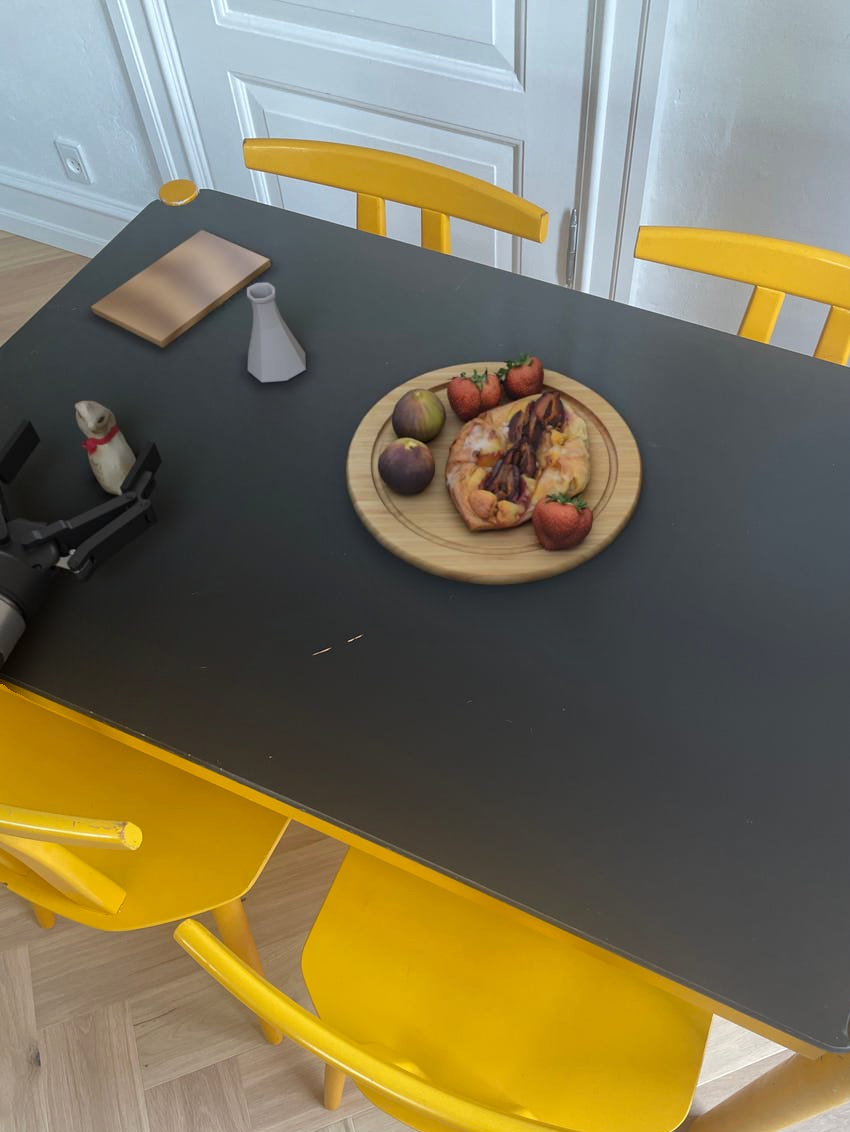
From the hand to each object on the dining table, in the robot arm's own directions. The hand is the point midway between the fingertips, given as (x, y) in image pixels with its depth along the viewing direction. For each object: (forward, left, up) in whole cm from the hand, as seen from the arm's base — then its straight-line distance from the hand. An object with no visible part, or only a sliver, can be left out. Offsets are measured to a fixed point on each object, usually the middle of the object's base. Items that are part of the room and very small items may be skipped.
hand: (93, 440), depth 91 cm
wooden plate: (+41, -1, -6) cm, 42 cm away
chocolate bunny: (0, +1, -6) cm, 6 cm away
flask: (+16, +18, -6) cm, 25 cm away
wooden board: (+3, +33, -6) cm, 34 cm away
